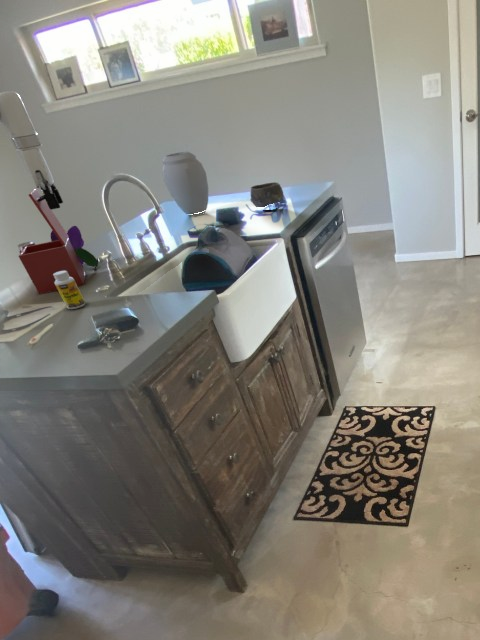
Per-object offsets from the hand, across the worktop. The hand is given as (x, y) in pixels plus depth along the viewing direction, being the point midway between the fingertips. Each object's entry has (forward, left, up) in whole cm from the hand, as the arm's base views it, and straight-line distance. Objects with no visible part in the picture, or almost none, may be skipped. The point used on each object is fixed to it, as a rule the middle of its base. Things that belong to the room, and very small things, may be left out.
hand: (56, 206), depth 170 cm
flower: (-2, +16, -23) cm, 28 cm away
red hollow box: (-9, 0, -23) cm, 25 cm away
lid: (-4, 0, -3) cm, 5 cm away
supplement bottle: (-2, -32, -23) cm, 39 cm away
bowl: (+77, +50, -23) cm, 95 cm away
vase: (+46, +76, -23) cm, 92 cm away
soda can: (-17, +14, -23) cm, 32 cm away
